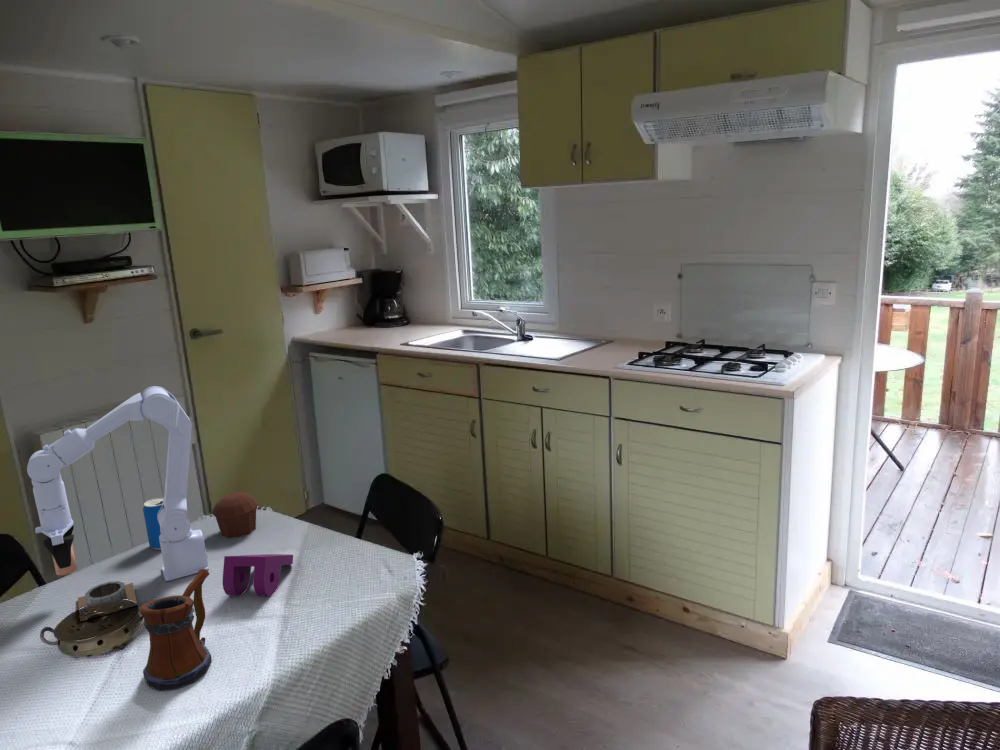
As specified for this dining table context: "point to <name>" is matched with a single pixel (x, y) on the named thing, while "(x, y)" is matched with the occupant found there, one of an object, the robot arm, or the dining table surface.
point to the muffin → (236, 514)
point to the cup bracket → (107, 593)
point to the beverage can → (153, 521)
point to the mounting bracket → (264, 573)
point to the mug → (176, 638)
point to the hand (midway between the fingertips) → (65, 562)
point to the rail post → (68, 569)
